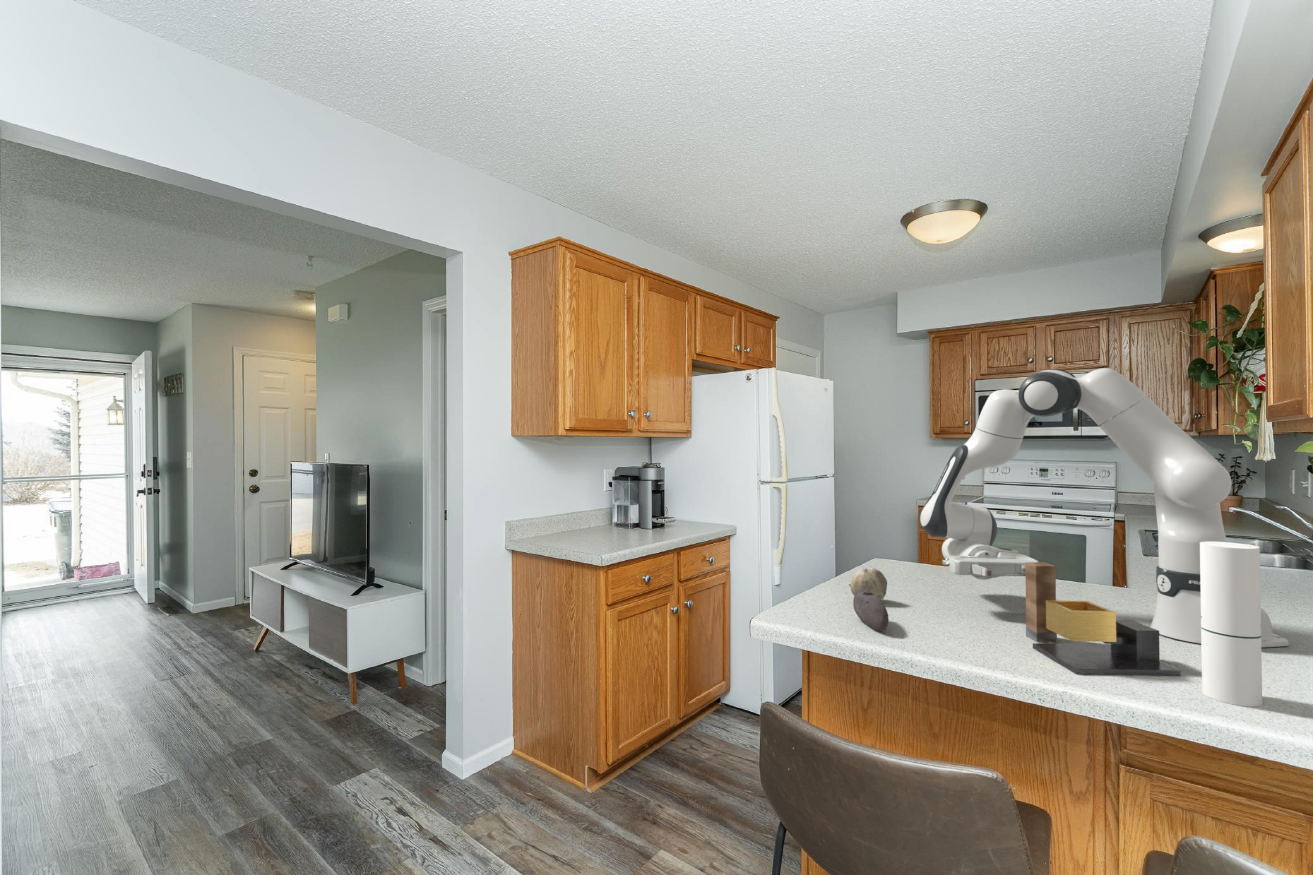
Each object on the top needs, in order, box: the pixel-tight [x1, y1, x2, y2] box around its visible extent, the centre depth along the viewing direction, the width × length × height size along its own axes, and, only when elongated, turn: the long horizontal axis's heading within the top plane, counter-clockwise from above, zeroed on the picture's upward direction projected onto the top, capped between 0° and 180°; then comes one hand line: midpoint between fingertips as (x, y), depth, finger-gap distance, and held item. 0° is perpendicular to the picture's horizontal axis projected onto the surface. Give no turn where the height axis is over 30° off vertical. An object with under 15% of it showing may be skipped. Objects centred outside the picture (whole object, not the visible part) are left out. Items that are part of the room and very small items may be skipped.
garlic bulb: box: [848, 567, 888, 601], centre depth 160 cm, size 9×8×10 cm
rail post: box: [1025, 561, 1058, 643], centre depth 129 cm, size 4×4×16 cm
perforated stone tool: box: [852, 589, 889, 632], centre depth 139 cm, size 15×5×7 cm, turn 178°
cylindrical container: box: [1200, 541, 1263, 708], centre depth 99 cm, size 7×7×25 cm
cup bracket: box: [1032, 600, 1182, 677], centre depth 115 cm, size 18×14×10 cm
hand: (1009, 573), depth 141 cm, fingers open, 8 cm apart
